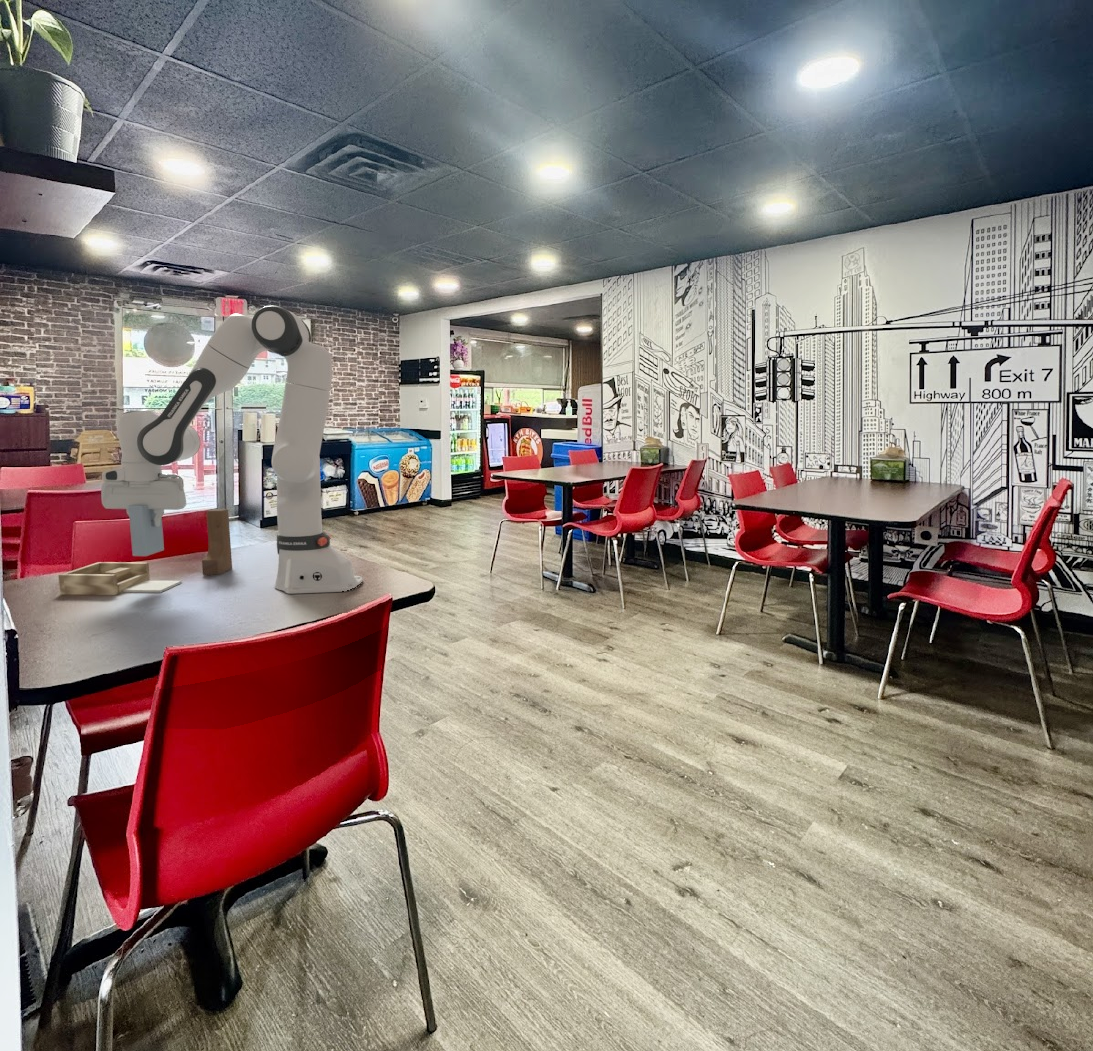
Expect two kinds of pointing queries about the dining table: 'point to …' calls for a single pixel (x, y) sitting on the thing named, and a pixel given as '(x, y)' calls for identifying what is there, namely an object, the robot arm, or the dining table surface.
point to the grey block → (144, 531)
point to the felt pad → (152, 586)
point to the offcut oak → (120, 573)
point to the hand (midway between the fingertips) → (146, 526)
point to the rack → (102, 578)
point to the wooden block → (218, 543)
